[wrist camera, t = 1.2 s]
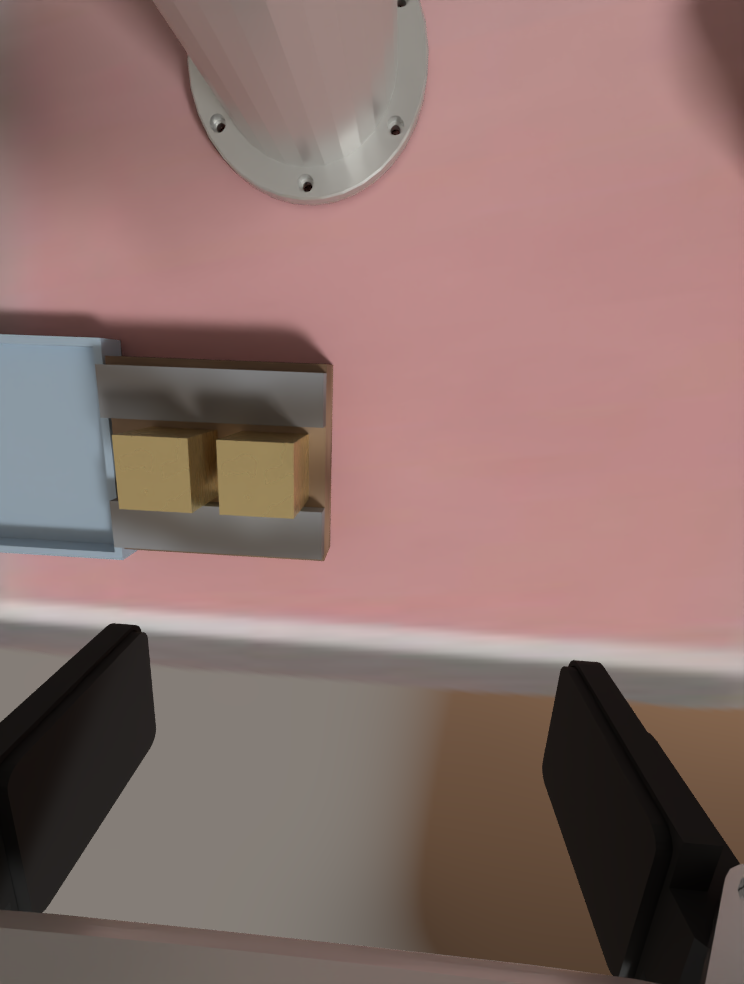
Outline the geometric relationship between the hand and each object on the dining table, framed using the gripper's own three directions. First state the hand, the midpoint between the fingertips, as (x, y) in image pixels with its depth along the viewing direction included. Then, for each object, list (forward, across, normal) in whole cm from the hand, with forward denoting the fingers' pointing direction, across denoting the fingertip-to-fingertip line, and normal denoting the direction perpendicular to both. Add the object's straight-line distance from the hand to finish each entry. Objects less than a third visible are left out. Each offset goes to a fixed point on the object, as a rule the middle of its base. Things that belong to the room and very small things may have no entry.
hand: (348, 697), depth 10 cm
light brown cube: (+18, +6, -1) cm, 19 cm away
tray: (+21, +23, -1) cm, 31 cm away
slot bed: (+21, +10, -1) cm, 23 cm away
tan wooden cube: (+18, +12, -1) cm, 22 cm away
